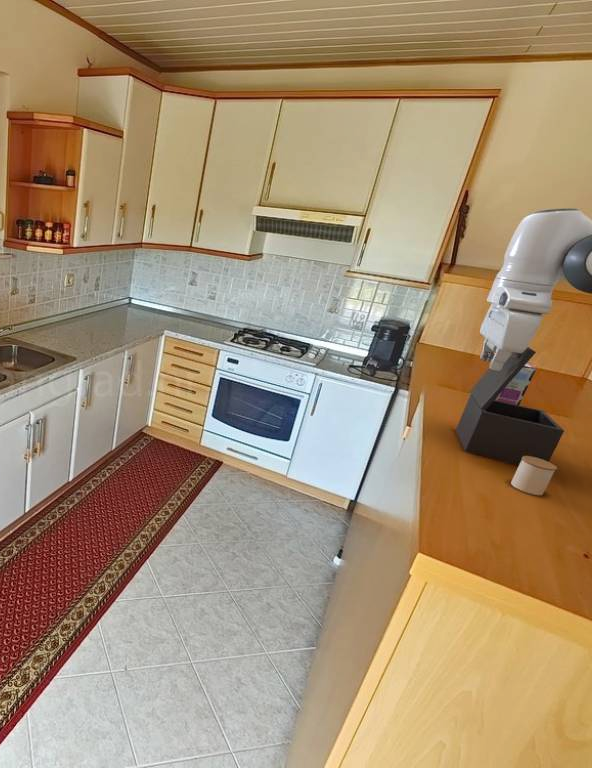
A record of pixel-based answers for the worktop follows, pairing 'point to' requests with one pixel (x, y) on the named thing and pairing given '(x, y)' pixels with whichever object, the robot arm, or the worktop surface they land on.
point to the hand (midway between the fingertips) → (489, 364)
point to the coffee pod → (533, 475)
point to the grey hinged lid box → (508, 431)
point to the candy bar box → (517, 386)
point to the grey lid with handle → (499, 377)
